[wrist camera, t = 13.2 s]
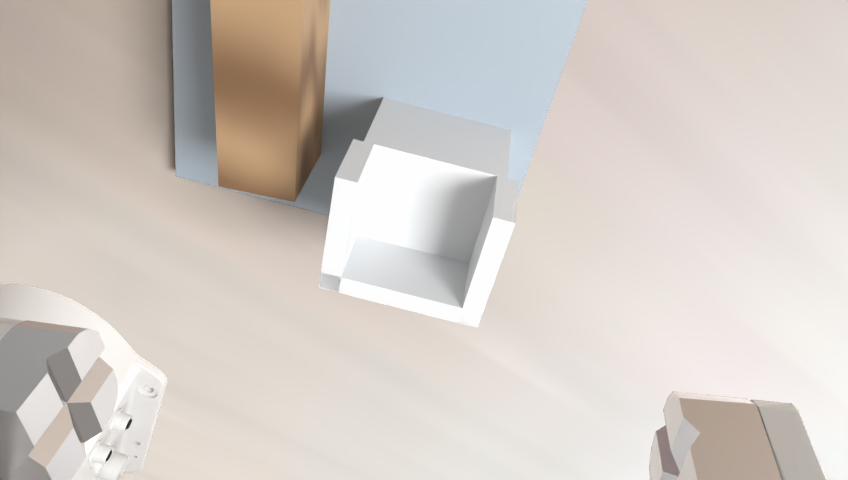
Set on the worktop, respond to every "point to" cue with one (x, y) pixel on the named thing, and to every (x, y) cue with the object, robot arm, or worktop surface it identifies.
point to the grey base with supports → (407, 138)
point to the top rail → (269, 92)
